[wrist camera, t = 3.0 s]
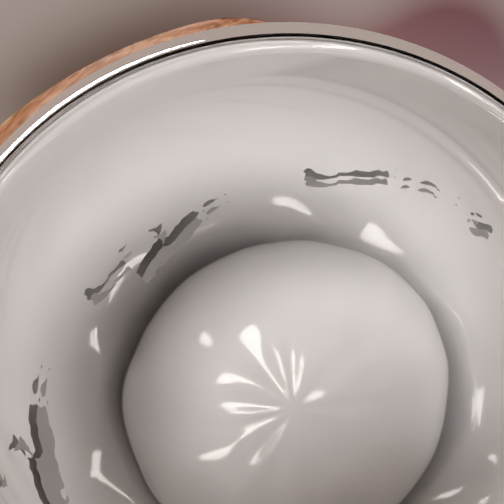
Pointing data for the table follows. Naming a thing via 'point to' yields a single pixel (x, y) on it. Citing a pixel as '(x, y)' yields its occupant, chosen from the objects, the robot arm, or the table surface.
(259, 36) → the shiny metal tumbler
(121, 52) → the table surface
